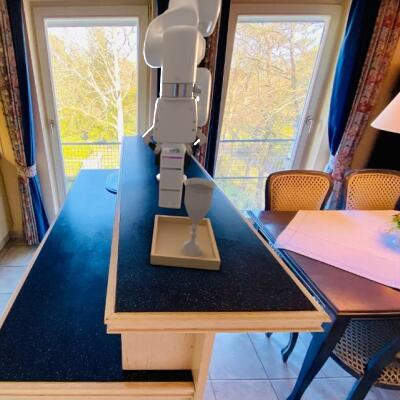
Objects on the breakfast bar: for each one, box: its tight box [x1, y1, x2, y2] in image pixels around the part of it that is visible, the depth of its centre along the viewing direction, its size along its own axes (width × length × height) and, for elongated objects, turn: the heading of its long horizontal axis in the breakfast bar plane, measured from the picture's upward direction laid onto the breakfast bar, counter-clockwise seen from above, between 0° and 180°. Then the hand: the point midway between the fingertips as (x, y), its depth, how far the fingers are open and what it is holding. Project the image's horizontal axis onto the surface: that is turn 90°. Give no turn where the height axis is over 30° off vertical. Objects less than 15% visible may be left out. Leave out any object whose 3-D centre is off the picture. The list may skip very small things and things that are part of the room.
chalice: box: [182, 177, 217, 257], centre depth 62 cm, size 7×7×18 cm
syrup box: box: [158, 148, 186, 209], centre depth 68 cm, size 6×6×14 cm
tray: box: [150, 214, 221, 271], centre depth 69 cm, size 20×16×3 cm
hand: (172, 168), depth 67 cm, fingers closed on syrup box, 5 cm apart
